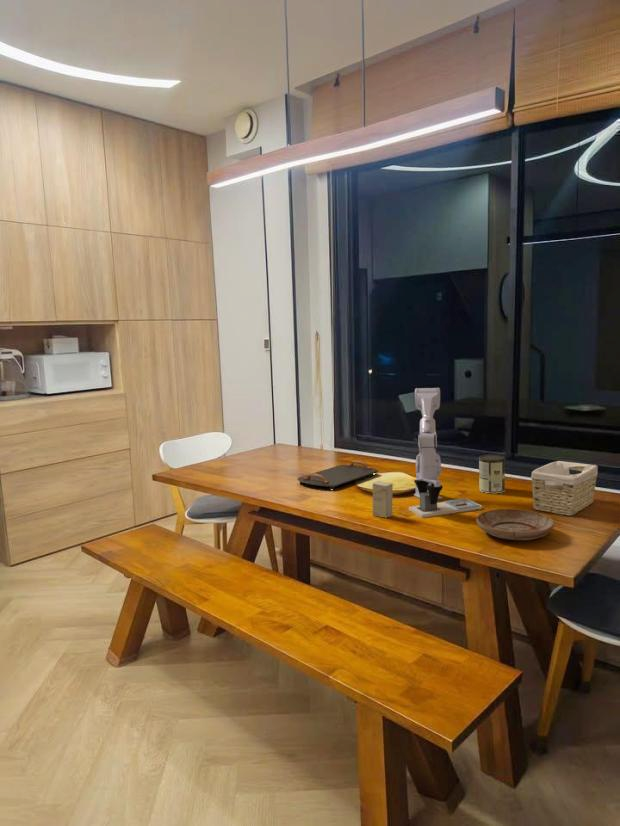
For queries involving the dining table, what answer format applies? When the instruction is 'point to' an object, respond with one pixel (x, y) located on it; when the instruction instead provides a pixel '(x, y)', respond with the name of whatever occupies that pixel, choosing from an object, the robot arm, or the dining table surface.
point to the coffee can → (492, 474)
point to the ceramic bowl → (515, 524)
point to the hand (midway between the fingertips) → (428, 501)
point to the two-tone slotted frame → (447, 508)
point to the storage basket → (563, 487)
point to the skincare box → (382, 499)
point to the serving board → (338, 475)
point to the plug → (426, 503)
